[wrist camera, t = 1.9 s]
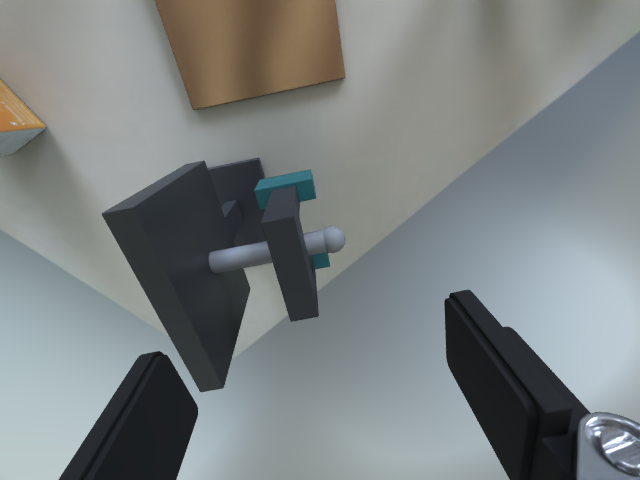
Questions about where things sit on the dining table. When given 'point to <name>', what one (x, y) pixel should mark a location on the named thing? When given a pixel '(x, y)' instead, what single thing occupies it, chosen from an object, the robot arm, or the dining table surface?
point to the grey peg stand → (201, 256)
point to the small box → (15, 122)
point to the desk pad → (251, 46)
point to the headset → (291, 240)
